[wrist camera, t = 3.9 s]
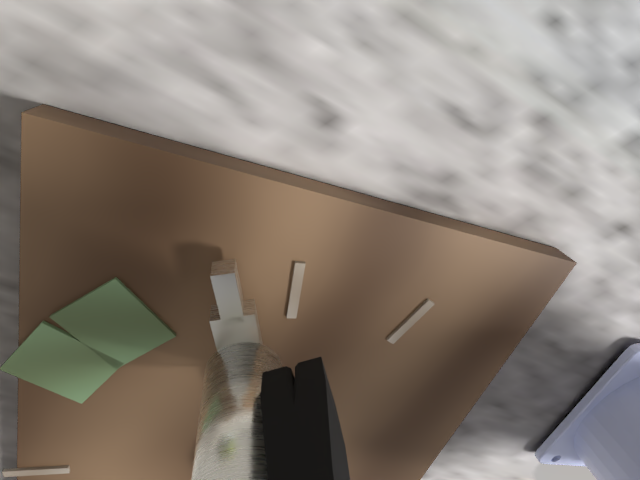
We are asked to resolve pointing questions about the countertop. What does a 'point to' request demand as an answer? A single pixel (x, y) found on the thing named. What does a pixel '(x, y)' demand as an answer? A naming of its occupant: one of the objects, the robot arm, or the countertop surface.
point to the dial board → (256, 283)
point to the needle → (232, 386)
